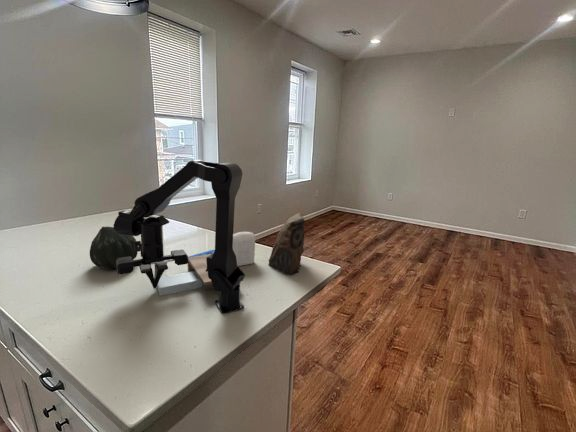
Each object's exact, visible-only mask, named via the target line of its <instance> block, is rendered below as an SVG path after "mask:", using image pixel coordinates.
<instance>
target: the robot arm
mask: <svg viewBox="0 0 576 432" xmlns="http://www.w3.org/2000/svg"><path fill="white" fill-rule="evenodd" d="M197 179H200V180H202V181H206V182H210V183H211V184H210V185H211V189H212V191H213V194H214V196H215V199H216V201H215V202H216V203H215V204H216V206H215V234H214V250H215V251H214V252H213V253H212V254H211V255H209V256H208V257H207V259H206V262H207V269H206V272H207V271H208V277H209V279H211V281H212V284H213V287H214V288H213V289H214V291H215V292H217V293H218V300H214V303H215V305H216V307H217V309H218V310H219V311H220V313H221V314H227V313H231V312H233V311H237V310H241V309H242V310H243V309H244V308H245V305H244V303H243V302H241V300H240V299H241V293H240V292H241V282H243V281H244V279H245V277H246V274H245V272H243V270H242V269H241V268H240V266H237V260H236V255H235V253H234V251H233V234H234V226H235V223H234V221H235V203H236V196H237V194H238V192H239V190H240V187H241V183H242V179H243V170H242V168H241V167H240V166H239V165H238V164H237V163H235V162H232V161H231V162H225V163H219V162H213V161H206V160H202V159H196V160H195V159H194V160H193V159H192V160H190V161H188V162H186V164H185V165H184V166H183V167H182V168H180V169H179V170H178V171H177V172H176V173H174V175H171V177H170V178H169V179H168V180H166V181H164V183H163V184H161V185H160V186H158V188H155V189H154V190H151V191H149V192H147V193H145V194H143V195H141V196H139V197H137V198H136V199H135V200H134V206H133V207H132V209H131V210H130V211H128V210H120V211H118V215H117V217H116V218H115V219H114V222H113V227H114V230H115V232H117V233H119V234H125V235H131V236H134V237H138V236H140V240H136V241H134V252H140V257H141V258H139V259H133V260H132V257H131V256H130V257H122V258H118V259H117V260H116V266H117V269H116V270H117V271H116V272H117V275H125V274H126V275H127V274H131V273H132V272H133V271H134V270H135V269H134V268H135V267H136V268H137V267H139V270H140V274H145V275H146V277H148V279H149V281H150V284H151V286H152V288H153V289H157V285H158V282H159V280H160V278H161V277H163V274H164V272H165V271H166V270H169V266H168V263H169V262H174V264H175V265H177V266H181V265H182V266H183V265H188V257H189V255H188V254H187V253H186V251H185V250H184V249H176V250H171V251H170V254H168V255H164V254H165V253H164V252H165V251H164V237H163V235H164V233H163V232H164V231H163V230H164V229H163V226H166V225H167V224H169V223H170V220H168V219H167V218H166V217H165V216H164V215H163V214H162V215H160V216H157V217H156V216H154V215H158V214H160V213H162V212H164V211H165V209H167V207H168V206H169V205H170V204H171V203H170V202H171V200H172V199H173V198H174V197H175V196H176V195H178V194H179V193H181V192H182V190H183V191H184V189H186V188H187V187H188V186H189V185H191V183H193V182H194V181H196V180H197ZM152 265H154V270H153V268H152Z"/></svg>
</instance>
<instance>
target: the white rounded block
mask: <svg viewBox="0 0 576 432" xmlns="http://www.w3.org/2000/svg"><path fill="white" fill-rule="evenodd" d="M255 248H256V235H255V233H253V232H252V231H239V232H236V233H233V251H234V253H235V255H236V260H237V266H238V267H241V266H245V265H252V264H253V263H255V255H256V254H255V250H256V249H255Z"/></svg>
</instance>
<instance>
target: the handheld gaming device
mask: <svg viewBox="0 0 576 432" xmlns="http://www.w3.org/2000/svg"><path fill="white" fill-rule="evenodd" d="M214 251H215V249H211V250H207V251H203V252H199V253H196V254H193V255H188V257H194V256H200V255H207V254H212V253H213V252H214Z"/></svg>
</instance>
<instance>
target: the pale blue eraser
mask: <svg viewBox="0 0 576 432" xmlns="http://www.w3.org/2000/svg"><path fill="white" fill-rule="evenodd" d="M202 285H204V284H203V283H202V281H201V280H200V278H199V277H198V275H197V274H196V272H195V271H192V272H188V271H187V272H182V273H175V274H171V275H164V276H161V278H160V280H159V282H158V285H157V287H156V290H157V291H158V294H159V296H160V297H161V296H166V295H171V294H175V293H180V292H184V291H190V290H194V289H199V288H202Z"/></svg>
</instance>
